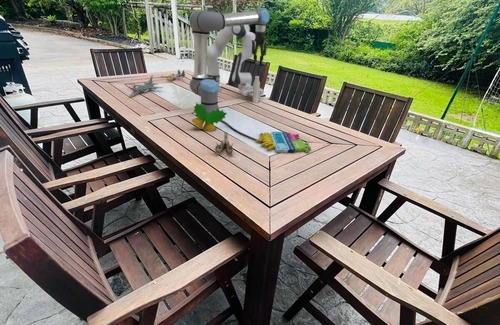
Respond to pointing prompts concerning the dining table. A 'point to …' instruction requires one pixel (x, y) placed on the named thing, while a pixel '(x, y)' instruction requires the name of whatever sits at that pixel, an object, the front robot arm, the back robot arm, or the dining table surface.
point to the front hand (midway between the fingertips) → (257, 64)
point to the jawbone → (224, 145)
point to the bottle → (256, 90)
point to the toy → (174, 76)
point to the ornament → (207, 117)
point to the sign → (283, 142)
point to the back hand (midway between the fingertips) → (256, 94)
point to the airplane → (143, 87)
